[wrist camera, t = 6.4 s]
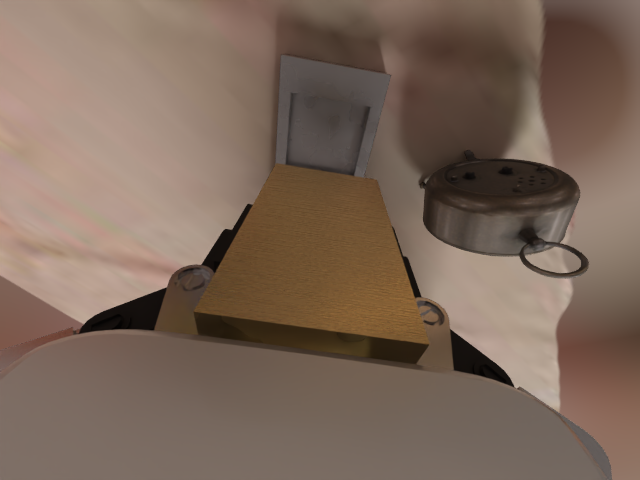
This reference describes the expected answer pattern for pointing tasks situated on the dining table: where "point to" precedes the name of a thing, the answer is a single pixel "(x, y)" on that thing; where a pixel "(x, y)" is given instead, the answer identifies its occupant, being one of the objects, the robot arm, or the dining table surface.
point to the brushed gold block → (316, 272)
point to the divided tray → (328, 114)
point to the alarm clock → (502, 208)
